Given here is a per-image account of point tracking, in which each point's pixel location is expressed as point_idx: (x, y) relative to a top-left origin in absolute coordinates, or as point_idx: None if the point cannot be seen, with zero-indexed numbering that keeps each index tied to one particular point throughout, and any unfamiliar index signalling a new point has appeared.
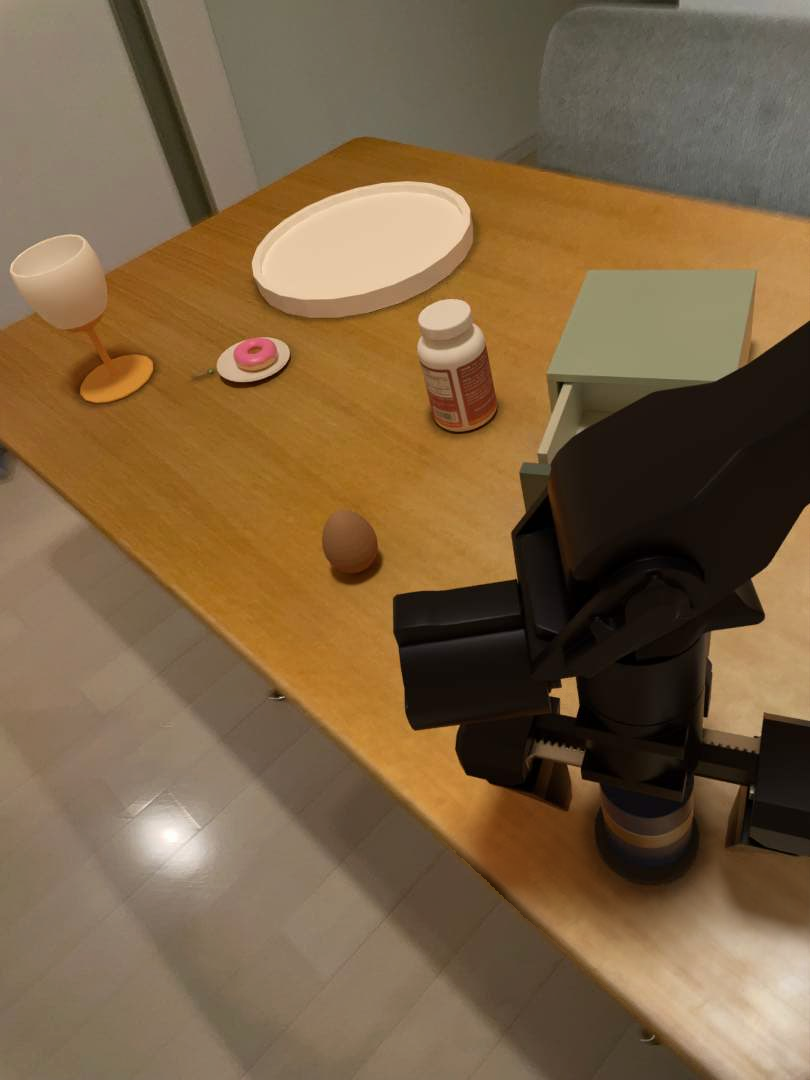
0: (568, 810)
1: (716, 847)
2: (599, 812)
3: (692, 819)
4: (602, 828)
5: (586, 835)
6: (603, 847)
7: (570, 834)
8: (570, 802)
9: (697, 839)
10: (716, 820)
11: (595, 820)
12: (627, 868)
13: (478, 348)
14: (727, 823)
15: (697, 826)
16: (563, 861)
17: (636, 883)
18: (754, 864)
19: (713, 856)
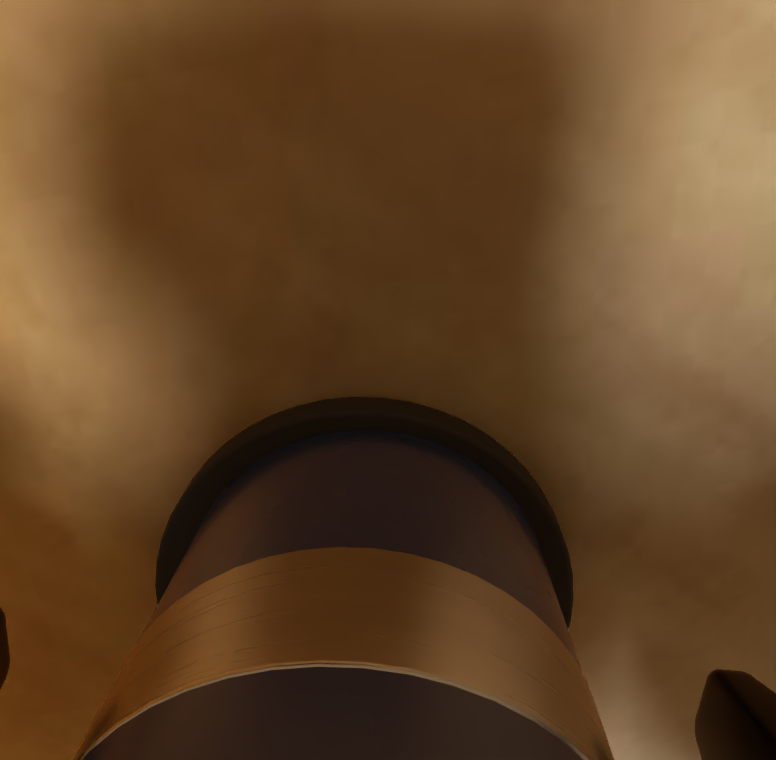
0: (7, 670)
1: (627, 583)
2: (163, 564)
3: (548, 538)
4: None
5: (144, 608)
6: None
7: (85, 613)
8: (3, 637)
9: (565, 608)
10: (635, 484)
11: (156, 591)
12: None
13: None
14: (758, 747)
15: (567, 560)
16: (89, 701)
17: None
18: (758, 620)
19: (614, 614)
